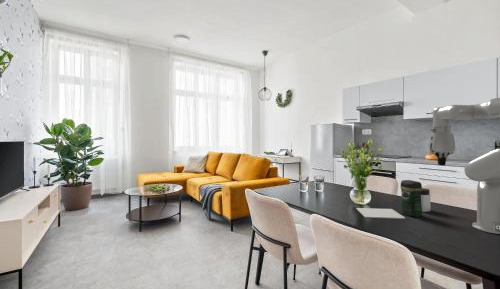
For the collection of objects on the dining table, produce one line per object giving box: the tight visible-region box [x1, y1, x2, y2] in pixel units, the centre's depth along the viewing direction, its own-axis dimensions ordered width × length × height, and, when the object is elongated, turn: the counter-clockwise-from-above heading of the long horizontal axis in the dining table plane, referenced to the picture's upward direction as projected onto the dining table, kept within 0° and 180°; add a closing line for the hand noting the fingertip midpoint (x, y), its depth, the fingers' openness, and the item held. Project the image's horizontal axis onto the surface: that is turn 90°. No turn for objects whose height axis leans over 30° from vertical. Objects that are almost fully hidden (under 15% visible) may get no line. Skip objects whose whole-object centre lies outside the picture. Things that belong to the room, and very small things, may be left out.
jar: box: [421, 187, 431, 213], centre depth 137 cm, size 9×8×12 cm
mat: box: [355, 207, 407, 220], centre depth 131 cm, size 16×20×1 cm
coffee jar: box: [400, 179, 423, 218], centre depth 129 cm, size 10×8×19 cm
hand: (441, 165), depth 126 cm, fingers closed
